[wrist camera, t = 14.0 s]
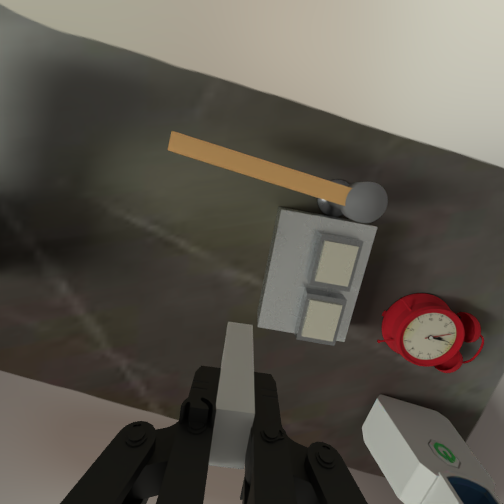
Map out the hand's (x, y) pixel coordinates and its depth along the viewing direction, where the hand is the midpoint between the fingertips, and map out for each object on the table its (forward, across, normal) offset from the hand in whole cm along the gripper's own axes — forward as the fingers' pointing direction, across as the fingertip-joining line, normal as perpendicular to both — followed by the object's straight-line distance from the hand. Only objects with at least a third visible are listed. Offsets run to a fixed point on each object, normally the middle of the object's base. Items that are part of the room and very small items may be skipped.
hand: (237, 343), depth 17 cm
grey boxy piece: (+23, +10, +1) cm, 25 cm away
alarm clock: (+23, +29, -7) cm, 38 cm away
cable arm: (+23, +2, +11) cm, 26 cm away
